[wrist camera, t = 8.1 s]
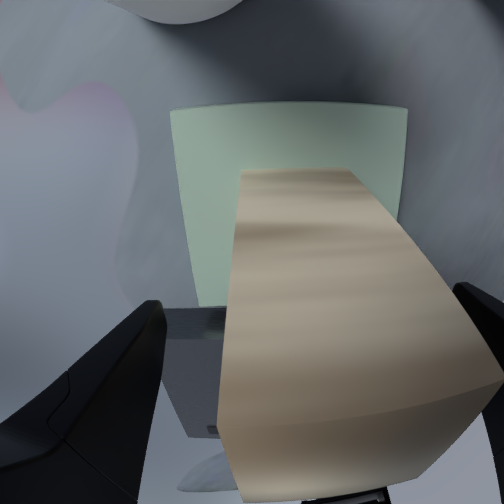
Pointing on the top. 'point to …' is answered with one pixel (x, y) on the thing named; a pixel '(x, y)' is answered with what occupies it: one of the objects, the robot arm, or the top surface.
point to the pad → (273, 164)
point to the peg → (338, 344)
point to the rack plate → (194, 367)
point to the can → (176, 9)
